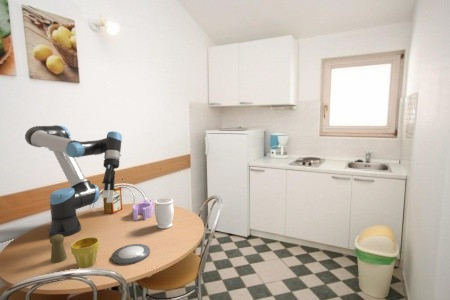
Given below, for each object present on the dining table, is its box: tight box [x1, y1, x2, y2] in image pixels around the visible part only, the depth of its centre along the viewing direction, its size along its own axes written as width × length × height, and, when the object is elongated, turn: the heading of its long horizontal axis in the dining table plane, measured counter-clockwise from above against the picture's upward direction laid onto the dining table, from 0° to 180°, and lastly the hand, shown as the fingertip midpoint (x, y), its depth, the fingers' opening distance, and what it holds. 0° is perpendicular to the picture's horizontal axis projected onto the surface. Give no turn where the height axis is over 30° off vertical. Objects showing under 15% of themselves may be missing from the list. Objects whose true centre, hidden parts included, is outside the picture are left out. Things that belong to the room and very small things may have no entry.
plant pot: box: [70, 236, 100, 269], centre depth 110 cm, size 10×10×10 cm
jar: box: [153, 197, 175, 230], centre depth 148 cm, size 11×10×15 cm
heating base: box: [111, 243, 151, 266], centre depth 117 cm, size 16×16×1 cm
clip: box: [131, 198, 155, 221], centre depth 168 cm, size 20×12×7 cm, turn 0°
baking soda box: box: [103, 186, 123, 215], centre depth 174 cm, size 10×6×16 cm
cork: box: [49, 234, 68, 264], centre depth 114 cm, size 6×6×11 cm
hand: (107, 200), depth 130 cm, fingers open, 13 cm apart
